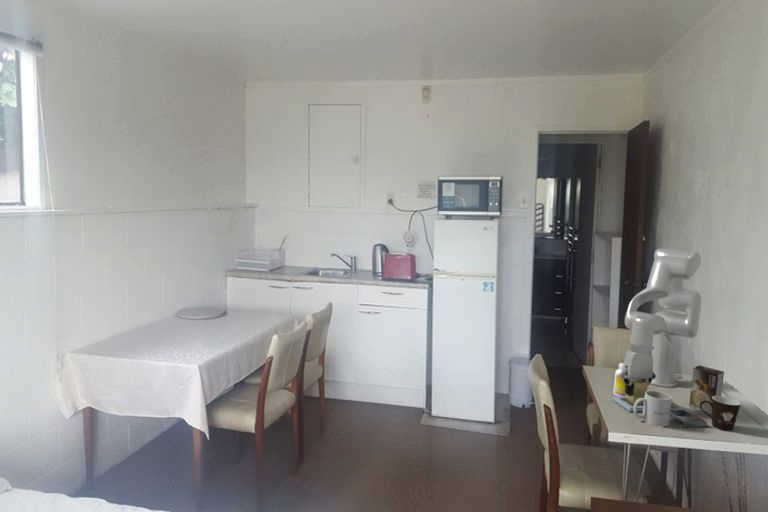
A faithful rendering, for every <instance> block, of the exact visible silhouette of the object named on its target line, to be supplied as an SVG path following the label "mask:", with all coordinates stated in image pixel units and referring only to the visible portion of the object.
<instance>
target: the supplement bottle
mask: <svg viewBox="0 0 768 512" xmlns="http://www.w3.org/2000/svg"><path fill="white" fill-rule="evenodd" d="M623 364H624V362H620V363H618V369H616V370H615V372H614V373H615V374H614V382H613V391H612V393H613V395H614V397H617V396H625V386H626V384H625V383H624V381H623V380H622V379H621V378H620V377H619V374H620V373H621V372H622V370H623ZM626 377H627V375H625V378H626Z"/></svg>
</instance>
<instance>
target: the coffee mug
mask: <svg viewBox="0 0 768 512" xmlns="http://www.w3.org/2000/svg"><path fill="white" fill-rule="evenodd" d="M705 402H707V403H709V404H710V405H711V407H712V415H711V414H708V413H706V412H705V411H704V410H703V409H702V407H701V405H702V404H703V403H705ZM700 408H701V410H702V411H703V412H702V411H701V412H702V413H704V414H705V415H706V416H708V417H709V418H710V419H711V424H712V425H711V426H712V427H713V428H715V429H717V430H720V431H724V432H733V430H734V429H735V425H736V422H737V417H738V414H739V412H740V411H739V410H740V408H741V402H740V401H739V400H737V399H735V398H732V397H728V396H724V395H721V396H713V397H712V403H711V402H709V401H702V402H701V403H700Z"/></svg>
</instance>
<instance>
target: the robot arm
mask: <svg viewBox="0 0 768 512" xmlns="http://www.w3.org/2000/svg"><path fill="white" fill-rule="evenodd" d="M653 259H654V261H653V262H652V266H651V269H650V274H649V278H648V281H647V283H646V287H645V288H644V289H642V290H641V291H639V292H638V293H637V294H636V295H634V296H633V297H632V298H631V300H630V301H629V303H628V306H627V310H626V311H625V315H624V325H625V327H626V328H627V329H628V330H631V335H630V342H629V350H627V351H626V353H625V356H624V359H623V360H624V361H623V363H624V364H623V370H622V372H621V373H620V374H619V377H620V378H621V379H622V380H623V381H624V383H625V384H626V386H625V394H627V395H629V396H631V395H632V386H631V384H632V382H633V380H634V379H642V380H644V381H645V382H647V383H648V384H647V387H649V386H650V384H651V385H654V386H658V387H666V388H672V387H675V386H677V382H676V381H675V380H683V377H684V376H683V375H682V374H676V373H674V372H675V363H676V356H677V355H676V354H677V343H676V340H675V339H674V336H678V337H682V338H689V339H693V338H695V337H696V336H697V334H698V332H699V323H700V317H701V306H702V297H701V294H700V293H699V292H698V291H695V290H694V289H693V290H692V289H686V288H683V285H684V280H686V281H687V280H690V279H692V277H693V276H694V275H695V274H696V273H697V271H698V270H699V268H700V266H701V263H702V257H701V254H700V253H699V252H698V251H694V250H686V249H678V248H667V247H665V248H663V247H662V248H657V249H655V251H654V253H653ZM656 300H658V304H659V306H660V307H661V308H664V309H666V310H671V311H672V312H671V311H665V310H664V311H663V310H662V311H661V310H660V311H656V312H655V313H654V314H653V313H648V312H642V311H637V310H638V308H639V307H640V306H641V305H643V304H645V303H648V302H652V301H656ZM673 311H677V312H678V311H679V312H684V313H686V314H683V313H677V312H673ZM625 375H627V377H626V378H625ZM629 379H630V380H629ZM646 391H648V388H647V389H646Z"/></svg>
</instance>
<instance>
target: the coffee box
mask: <svg viewBox="0 0 768 512" xmlns="http://www.w3.org/2000/svg"><path fill="white" fill-rule="evenodd" d="M724 374H725V371H723V370H718V369H716V368H710V367H707V366H704V365H696V366H695V367H693V369H692V377H691V378H692V379H691V387H690V394H689V395H690V396H689V403H688V408H690V409H692V410H695V411H699V412H701V413H704V412H703V411H702V410H701V408H700V403H701V402H702V401H709V402H711V403H712V397H713V396H722V392H723V383H724V382H723V381H724ZM701 407H702V409H703V410H704V411H705V412H706V413H708V414H709V415H710V416H712V407H711V405H710V404H709V403H707V402H705V403H703V404H702V405H701Z"/></svg>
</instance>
